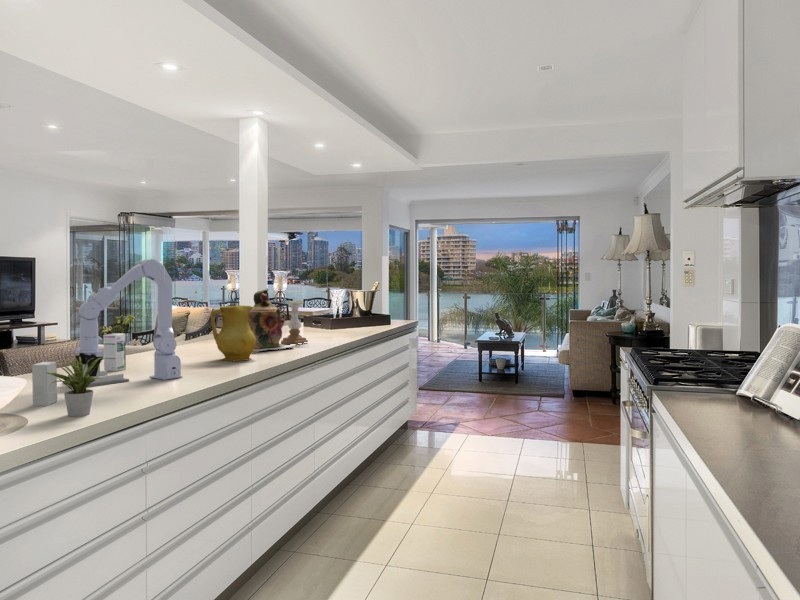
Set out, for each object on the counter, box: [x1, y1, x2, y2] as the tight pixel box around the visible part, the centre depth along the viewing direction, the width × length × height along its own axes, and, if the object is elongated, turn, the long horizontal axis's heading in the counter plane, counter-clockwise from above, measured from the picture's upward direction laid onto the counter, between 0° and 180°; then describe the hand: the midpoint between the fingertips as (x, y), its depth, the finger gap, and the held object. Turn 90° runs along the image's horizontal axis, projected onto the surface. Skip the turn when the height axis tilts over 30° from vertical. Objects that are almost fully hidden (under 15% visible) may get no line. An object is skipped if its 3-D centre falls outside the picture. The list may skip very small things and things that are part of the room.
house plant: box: [47, 356, 104, 418], centre depth 165 cm, size 14×14×16 cm
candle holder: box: [280, 300, 309, 345], centre depth 342 cm, size 11×11×24 cm
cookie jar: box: [248, 287, 296, 353], centre depth 317 cm, size 25×25×32 cm
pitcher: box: [210, 305, 256, 362], centre depth 275 cm, size 17×19×25 cm
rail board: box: [63, 370, 130, 388], centre depth 212 cm, size 14×16×3 cm
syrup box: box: [103, 332, 127, 372], centre depth 240 cm, size 6×6×14 cm
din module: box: [83, 364, 101, 378], centre depth 210 cm, size 4×5×6 cm
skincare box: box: [31, 361, 58, 407], centre depth 176 cm, size 6×4×12 cm
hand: (89, 375), depth 210 cm, fingers closed on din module, 4 cm apart
